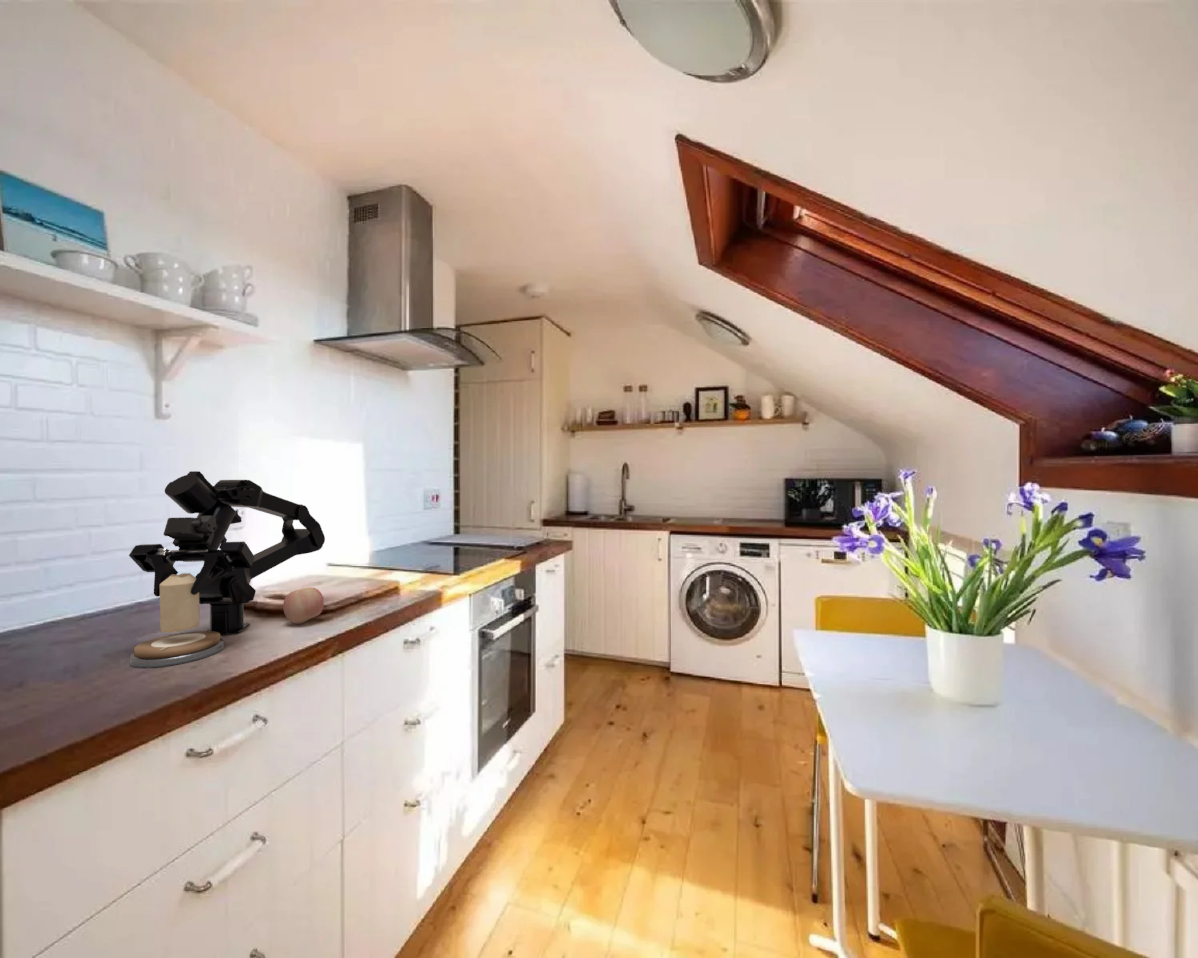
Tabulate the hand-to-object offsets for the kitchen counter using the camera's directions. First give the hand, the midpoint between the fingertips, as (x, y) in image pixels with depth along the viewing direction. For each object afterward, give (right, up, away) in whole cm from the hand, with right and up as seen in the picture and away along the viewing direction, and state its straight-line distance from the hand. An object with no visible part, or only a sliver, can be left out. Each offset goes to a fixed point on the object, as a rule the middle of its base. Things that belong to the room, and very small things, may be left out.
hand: (174, 594), depth 88 cm
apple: (+11, -12, +21) cm, 26 cm away
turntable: (0, -10, +1) cm, 10 cm away
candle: (0, -7, +1) cm, 7 cm away
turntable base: (0, -11, +1) cm, 11 cm away
